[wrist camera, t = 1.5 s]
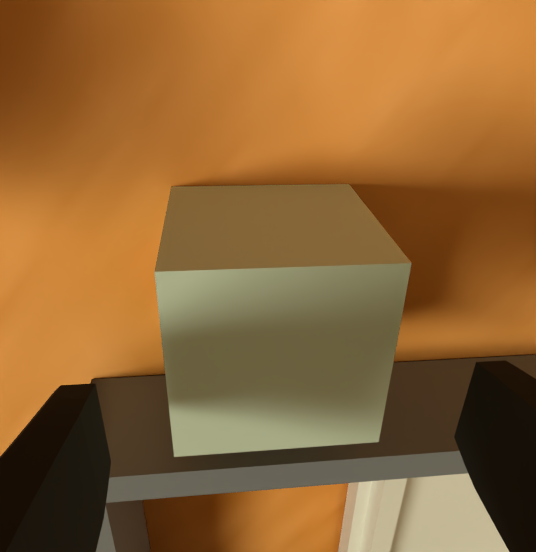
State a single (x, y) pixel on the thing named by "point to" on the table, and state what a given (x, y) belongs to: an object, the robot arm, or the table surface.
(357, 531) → the tray
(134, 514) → the dock
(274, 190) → the block
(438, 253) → the table surface
